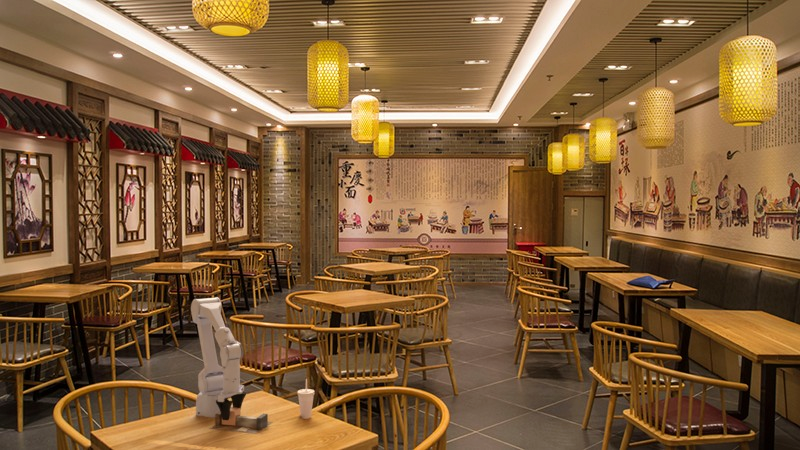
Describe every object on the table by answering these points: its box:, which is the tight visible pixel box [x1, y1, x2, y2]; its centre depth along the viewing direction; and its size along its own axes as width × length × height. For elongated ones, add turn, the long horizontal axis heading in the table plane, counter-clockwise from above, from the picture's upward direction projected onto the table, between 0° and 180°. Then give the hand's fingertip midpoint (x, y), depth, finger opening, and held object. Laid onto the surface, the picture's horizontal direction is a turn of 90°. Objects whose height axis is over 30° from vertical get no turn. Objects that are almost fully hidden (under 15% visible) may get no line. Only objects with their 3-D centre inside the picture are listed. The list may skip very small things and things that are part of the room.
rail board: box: [208, 411, 273, 435], centre depth 212 cm, size 18×12×5 cm, turn 75°
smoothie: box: [296, 378, 315, 420], centre depth 224 cm, size 6×6×14 cm
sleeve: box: [222, 406, 242, 426], centre depth 213 cm, size 5×4×5 cm
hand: (231, 416), depth 213 cm, fingers open, 7 cm apart
